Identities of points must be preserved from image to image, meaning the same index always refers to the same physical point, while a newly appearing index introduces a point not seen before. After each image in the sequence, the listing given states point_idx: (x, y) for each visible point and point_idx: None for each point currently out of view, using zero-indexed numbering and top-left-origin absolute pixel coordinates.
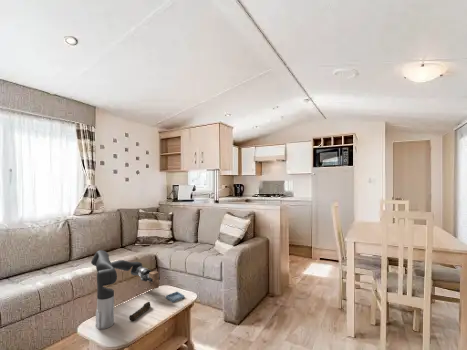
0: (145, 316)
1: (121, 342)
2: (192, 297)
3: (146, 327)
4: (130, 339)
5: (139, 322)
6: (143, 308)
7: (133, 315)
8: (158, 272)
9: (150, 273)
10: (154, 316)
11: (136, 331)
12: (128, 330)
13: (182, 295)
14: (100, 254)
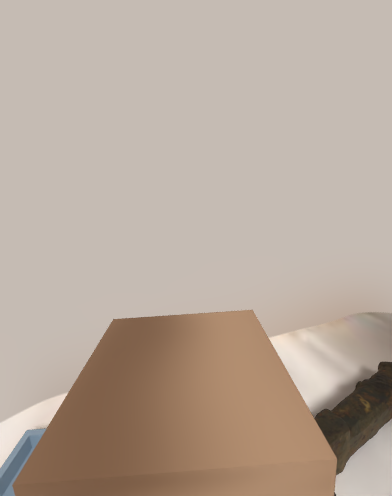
0: (322, 391)
1: (385, 315)
2: (3, 421)
3: (312, 332)
4: (359, 315)
5: (347, 365)
6: (342, 402)
7: (389, 362)
8: (115, 320)
9: (284, 373)
10: None
11: (347, 331)
12: (384, 345)
13: (23, 447)
14: None
